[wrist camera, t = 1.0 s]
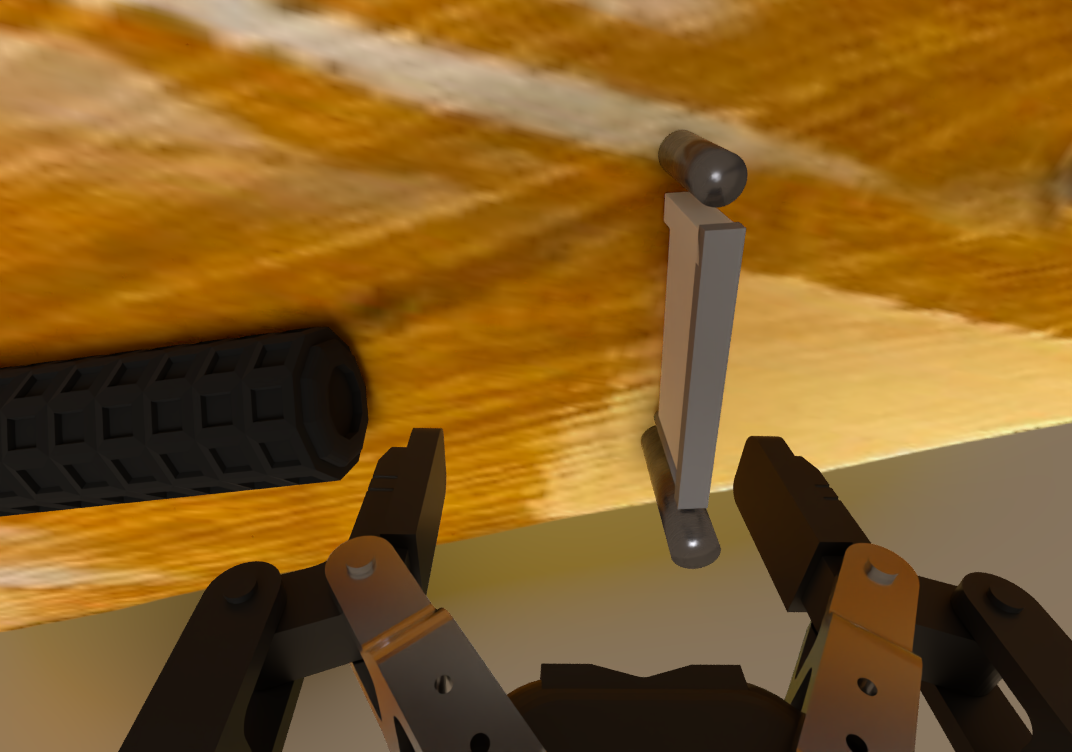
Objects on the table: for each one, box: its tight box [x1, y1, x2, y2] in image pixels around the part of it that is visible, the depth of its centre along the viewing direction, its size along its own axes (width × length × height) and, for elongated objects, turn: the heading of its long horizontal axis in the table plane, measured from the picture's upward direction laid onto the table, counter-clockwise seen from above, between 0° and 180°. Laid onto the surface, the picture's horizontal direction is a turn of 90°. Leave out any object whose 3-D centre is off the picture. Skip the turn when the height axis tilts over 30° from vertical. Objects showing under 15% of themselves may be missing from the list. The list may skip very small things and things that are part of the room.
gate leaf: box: [654, 192, 746, 509], centre depth 31 cm, size 17×2×8 cm, turn 4°
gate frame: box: [641, 130, 747, 569], centre depth 31 cm, size 3×24×11 cm, turn 4°
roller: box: [0, 327, 368, 516], centre depth 35 cm, size 38×10×10 cm, turn 98°
